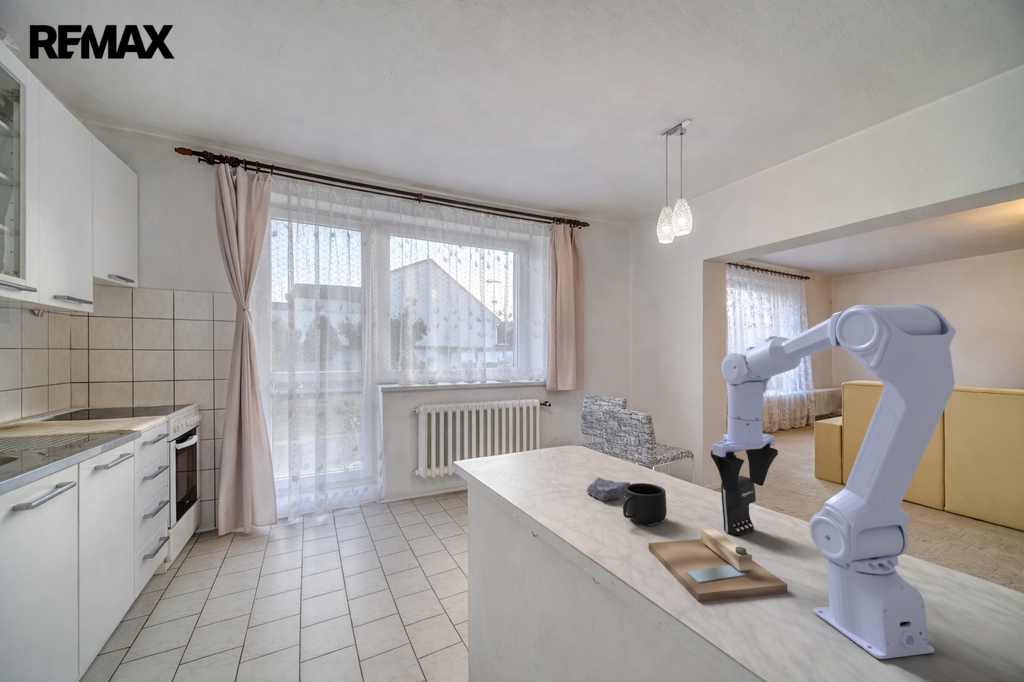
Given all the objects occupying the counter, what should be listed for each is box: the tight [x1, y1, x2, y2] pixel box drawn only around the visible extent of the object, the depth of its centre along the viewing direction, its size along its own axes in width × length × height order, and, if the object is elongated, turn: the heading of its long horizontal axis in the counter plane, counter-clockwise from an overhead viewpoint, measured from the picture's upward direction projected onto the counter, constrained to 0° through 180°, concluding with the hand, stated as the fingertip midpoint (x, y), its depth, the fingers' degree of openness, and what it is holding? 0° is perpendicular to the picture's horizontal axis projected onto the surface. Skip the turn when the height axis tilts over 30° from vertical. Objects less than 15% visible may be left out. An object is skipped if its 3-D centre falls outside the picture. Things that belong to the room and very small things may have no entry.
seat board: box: [648, 538, 789, 602], centre depth 70 cm, size 17×15×2 cm
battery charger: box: [720, 474, 757, 536], centre depth 85 cm, size 7×4×11 cm, turn 117°
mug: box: [622, 482, 668, 526], centre depth 91 cm, size 12×9×7 cm
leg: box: [700, 527, 753, 571], centre depth 72 cm, size 11×2×3 cm, turn 6°
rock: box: [586, 477, 631, 502], centre depth 109 cm, size 12×5×10 cm
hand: (743, 487), depth 75 cm, fingers open, 7 cm apart
